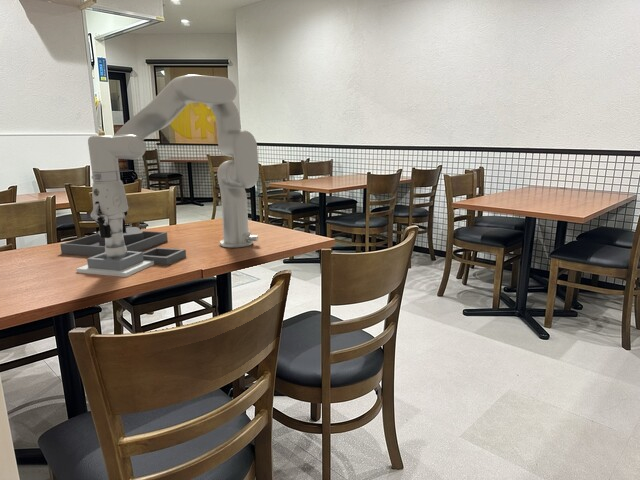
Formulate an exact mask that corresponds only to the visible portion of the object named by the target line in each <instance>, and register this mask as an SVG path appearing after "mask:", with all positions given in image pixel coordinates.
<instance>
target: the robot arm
mask: <svg viewBox="0 0 640 480" xmlns="http://www.w3.org/2000/svg"><path fill="white" fill-rule="evenodd" d="M237 91H238V90H237V87H236V85H235V83H234V81H232V80H231V79H230V78H227V77H224V76H215V75H214V76H210V75H200V74H185V75H181V76H177V77H174V78H173V79H172V80H170V81H169V82H168V83H167V84H166V86H165V87H164V88H163V89H162V90H161V91H160V92H159V93H158V94H157V95H156V96H155V97H154V98H153V99H152V100H151V101H150V102H149V103H148V104H147V105H146V106H144V107H143V108H142V109H141V110H139V111H138V112H137V113H136V114H135V115H134V116H132V117H131V118H130V119H129V120H127V122H125V123H124V124H123V125H122V126H121V127H120V128H119V129H118V130H117V131H116V132H115V133H114V135H91V136H89V137H88V139H87V145H88V146H87V147H88V151H89V160H90V167H91V179H92V181H93V183H92V189H91V190H92V191H91V194H92V196H91V197H92V198H91V199H92V208H93V209H92V211H91V212H90V218H91V219H93V220H94V222H95V223H96V225H97V226H98V227H99V231H100V236H101V238H110V237H111V236H110V228H109V225H107V223H108V216H112V215H115V214H117V213H119V212H120V213H122V214H123V233H126V228H127V227H126V221H127V215H128V211H129V209H130V206H129V205H128V199H127V193H126V190H125V185H124V182H123V180H121V173H120V167H119V166H120V164H119V159H122V160H123V159H124V160H137V159H140V158H142V157H143V156H144V155H145V153H146V150H147V149H146V148H147V146H146V145H147V144H146V143H145V141H144V140H145V139H146V138H148V137H149V136H150V135H152V134H153V133H154V134H155V133H156V132H158V131H161V130H162V129H165V128H166V127H168V126H169V125H171V124H172V122H173V121H174V120H175V119H176V118H177V117H178V115H180V114H181V112H182V111H184V109H185V108H186V107H187V106H188V105H189V104H193V103H199V104H201V103H202V104H204V105H206V106H208V108H209V109H210V110H211V112H212V113H213V115H214V118H215V124H216V133H217V134H216V135H217V145H218V150H219V152H220V153H221V154H222V155H223V156H226V157H231V158H233V160H232V159H231V160H226V161H223V162H222V163H221V164H219V166H218V168H217V172H216V175H217V182H218V186H219V190H220V191H219V192H220V199H221V219H222V235H223V237H222V238H223V239H221V240H219V246H220V247H223V248H243V247H244V248H245V247H248V246H251V245H253V244H254V242H258V240H259V236H258V234H257V235H254V234H252V231H250V230H249V217H248V215H249V213H248V212H249V211H248V196H247V191H246V189H250V188H252V187H254V186H256V184H257V183H258V180H259V176H260V175H259V174H260V169H259V168H260V167H259V154H258V152H259V150H258V144H257V141H256V138H255V136H254V135H253V134H252V133H251V132H249V131H248V130H246V129H242V126H241V119H240V113H239V110H238V107H237V105H236V104H235V103H234V100H235V99H236V96H237ZM102 213H103V214H104V215H102ZM102 217H104V220H103V219H102Z"/></svg>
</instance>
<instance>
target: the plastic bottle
mask: <svg viewBox="0 0 640 480" xmlns="http://www.w3.org/2000/svg"><path fill="white" fill-rule="evenodd" d="M102 215H104V214H103V213H102ZM102 219H103V220H104V217H102ZM107 225H109V228H110V236H111V237H110V238H105V256H106V259H113V260H120V259H123V258H125V257H127V253H128V251H127V248H126V245H125V241H124V237H123V214H122V213H120V212H119V213H117V214H115V215H112V216H108V223H107Z"/></svg>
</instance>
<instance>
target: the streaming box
mask: <svg viewBox="0 0 640 480" xmlns="http://www.w3.org/2000/svg"><path fill="white" fill-rule="evenodd" d="M143 231H144V230H142V229H141V228H139V227H138V226H127V227H126V233H123V237H124V241H125V245H126V246H127V245H130V244H133V243H136V242H138V241H141V240H144V237H143ZM97 233H98V238H99V245H100V246H105V238H101V236H100V230H98V231H97Z"/></svg>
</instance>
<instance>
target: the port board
mask: <svg viewBox="0 0 640 480" xmlns="http://www.w3.org/2000/svg"><path fill="white" fill-rule="evenodd" d="M143 252H144V251H141V252H134V251H128V253H127V257H125V258H123V259H120V260H113V259H106V256H105V252H104V253H102V254H99V255H96V256H89V257H88V258H86V262H87V264H85V265H82V266H80V267H78V268H76V273H78V274H79V273H80V274H91V275H100V276H101V275H102V276H112V277H122V278H128V277H129V276H131V275H133V274H135V273H138V272H141V271H142V270H145V269H147V268H150V267H151V266H154V265H155V264H154V261H151V260H144V258H143Z"/></svg>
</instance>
